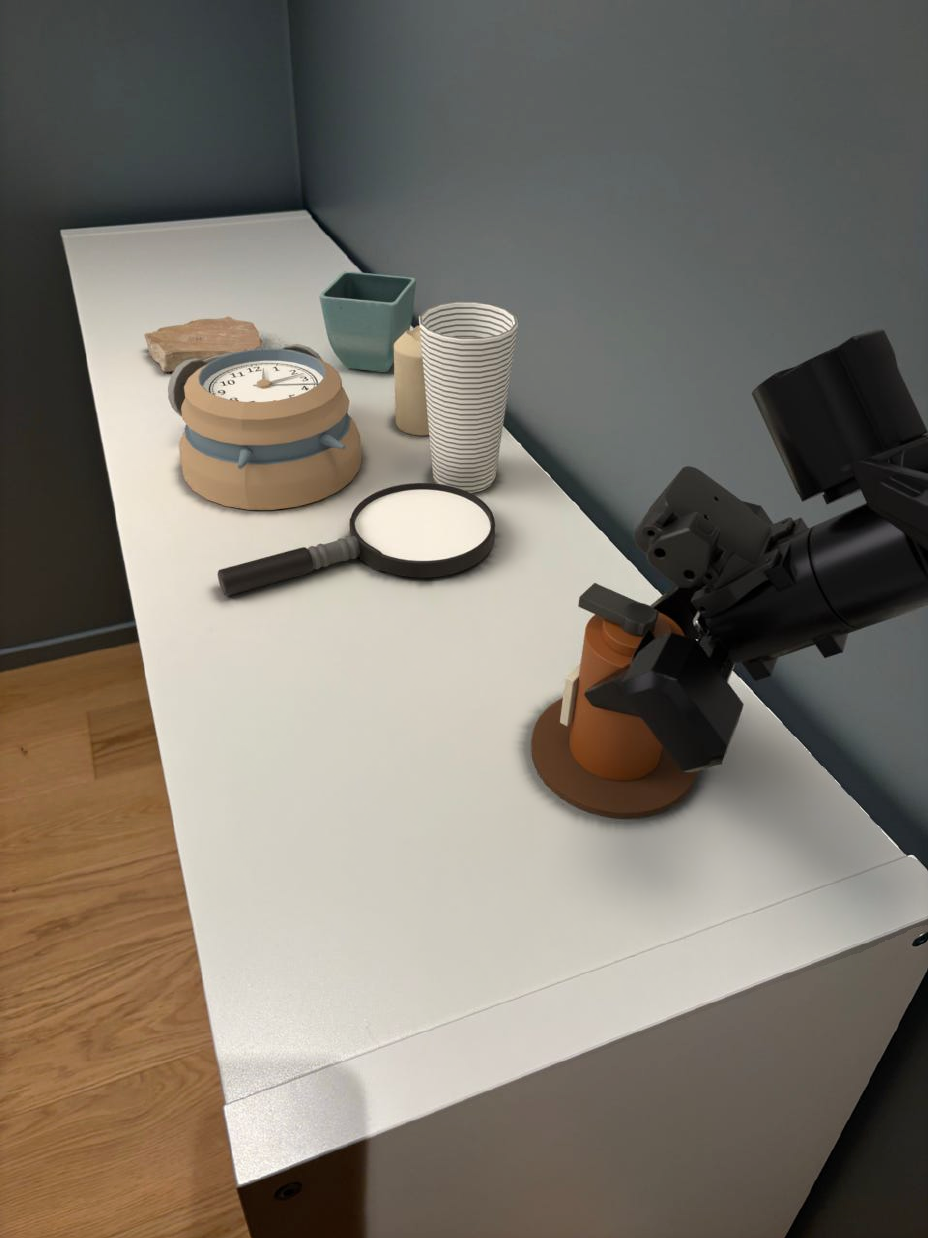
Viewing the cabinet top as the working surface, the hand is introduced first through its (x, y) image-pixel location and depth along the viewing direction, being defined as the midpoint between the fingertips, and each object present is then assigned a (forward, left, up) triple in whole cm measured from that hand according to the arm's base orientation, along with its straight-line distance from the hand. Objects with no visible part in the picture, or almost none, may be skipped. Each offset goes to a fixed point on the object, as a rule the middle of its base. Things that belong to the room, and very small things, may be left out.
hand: (607, 667), depth 57 cm
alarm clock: (+46, -14, -7) cm, 49 cm away
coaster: (-1, 0, -7) cm, 7 cm away
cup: (+28, -22, -7) cm, 36 cm away
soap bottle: (-1, 0, -6) cm, 7 cm away
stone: (+67, -25, -7) cm, 72 cm away
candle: (+38, -28, -7) cm, 48 cm away
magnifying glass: (+27, -7, -7) cm, 29 cm away
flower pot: (+52, -36, -7) cm, 64 cm away
